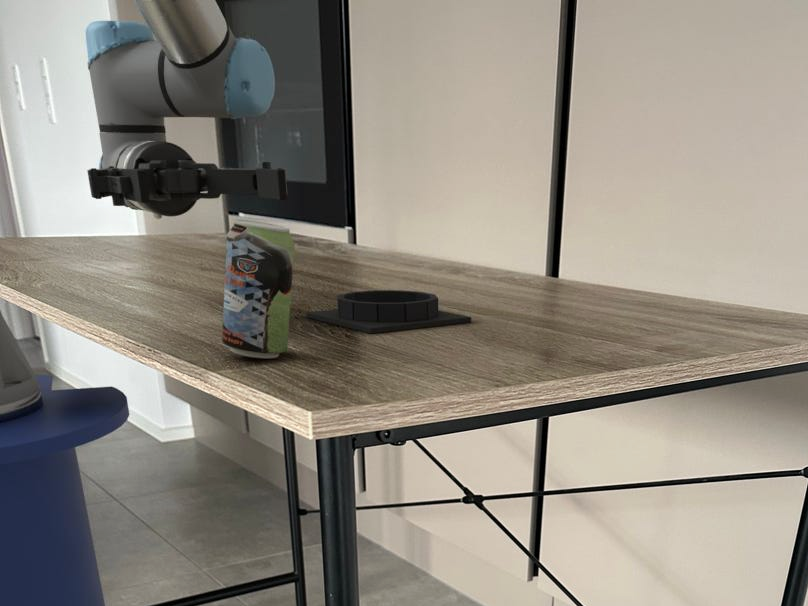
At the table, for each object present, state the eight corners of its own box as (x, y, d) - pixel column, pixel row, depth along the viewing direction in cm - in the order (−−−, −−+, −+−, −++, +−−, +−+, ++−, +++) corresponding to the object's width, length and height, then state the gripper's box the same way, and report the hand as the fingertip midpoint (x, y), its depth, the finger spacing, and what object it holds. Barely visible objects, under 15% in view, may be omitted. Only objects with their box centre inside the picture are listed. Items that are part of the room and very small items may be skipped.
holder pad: (371, 333, 102) (370, 308, 101) (306, 317, 112) (304, 294, 111) (471, 322, 110) (471, 298, 109) (403, 307, 120) (402, 286, 118)
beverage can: (220, 352, 91) (205, 217, 86) (295, 348, 94) (285, 217, 88) (229, 365, 86) (213, 222, 81) (308, 360, 89) (298, 221, 83)
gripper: (267, 212, 114) (337, 224, 98) (49, 217, 103) (87, 232, 87) (261, 142, 111) (332, 143, 95) (34, 140, 99) (71, 140, 83)
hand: (215, 185), depth 91 cm, fingers open, 13 cm apart
